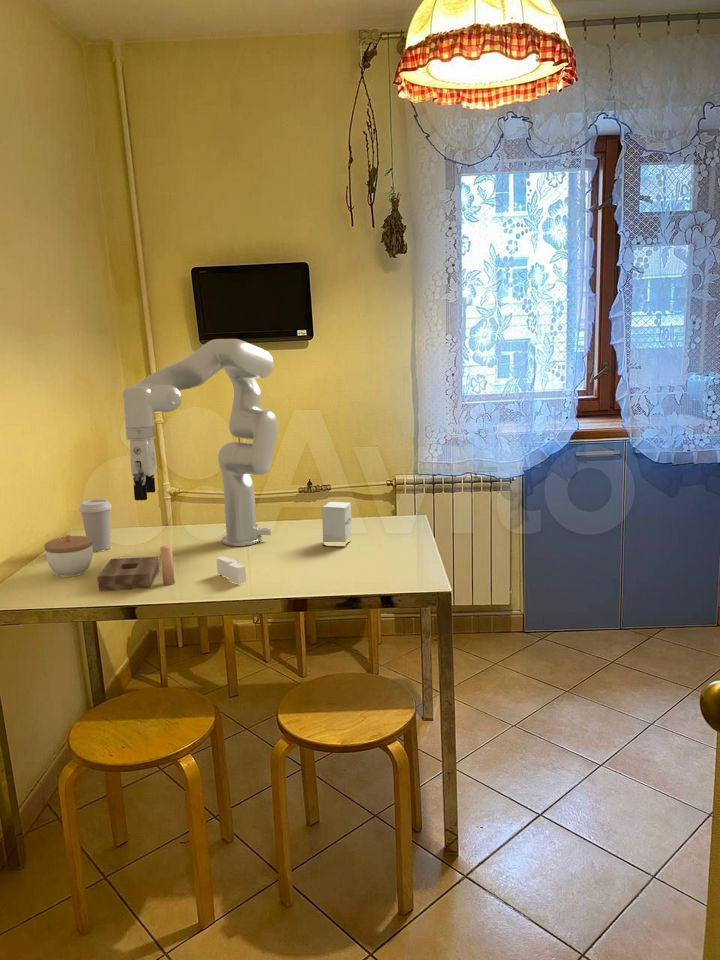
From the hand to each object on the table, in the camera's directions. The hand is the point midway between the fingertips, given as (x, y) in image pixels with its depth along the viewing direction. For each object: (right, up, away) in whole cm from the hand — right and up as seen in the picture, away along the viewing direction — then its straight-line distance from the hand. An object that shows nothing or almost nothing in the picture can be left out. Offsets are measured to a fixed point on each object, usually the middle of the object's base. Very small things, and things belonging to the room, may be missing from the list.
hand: (145, 496), depth 203 cm
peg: (+7, -23, -2) cm, 24 cm away
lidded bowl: (-23, -22, +9) cm, 33 cm away
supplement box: (+51, -16, +30) cm, 62 cm away
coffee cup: (-23, -17, +31) cm, 43 cm away
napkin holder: (+23, -23, 0) cm, 33 cm away
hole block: (-5, -23, +1) cm, 23 cm away
